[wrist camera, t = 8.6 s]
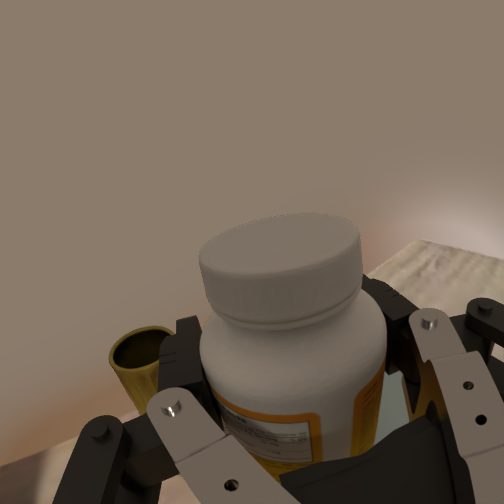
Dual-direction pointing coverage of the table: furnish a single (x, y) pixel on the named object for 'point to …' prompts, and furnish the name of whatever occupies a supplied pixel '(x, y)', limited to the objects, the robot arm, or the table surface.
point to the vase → (139, 363)
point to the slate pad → (391, 406)
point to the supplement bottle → (293, 340)
